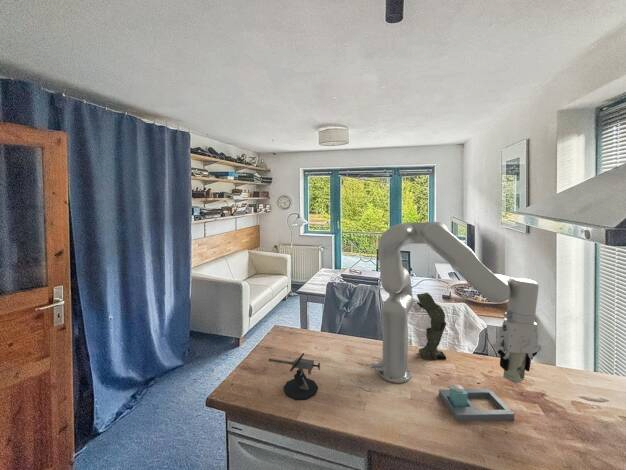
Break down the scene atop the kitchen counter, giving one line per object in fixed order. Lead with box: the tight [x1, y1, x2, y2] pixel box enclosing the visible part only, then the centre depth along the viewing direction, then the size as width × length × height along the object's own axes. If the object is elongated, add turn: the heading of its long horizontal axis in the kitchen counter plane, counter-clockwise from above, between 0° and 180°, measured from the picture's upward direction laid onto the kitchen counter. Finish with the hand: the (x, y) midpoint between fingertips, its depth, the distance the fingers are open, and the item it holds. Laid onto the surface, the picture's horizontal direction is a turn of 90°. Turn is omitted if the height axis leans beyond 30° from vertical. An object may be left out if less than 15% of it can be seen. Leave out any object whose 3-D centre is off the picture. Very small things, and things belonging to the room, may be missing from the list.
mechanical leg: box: [416, 292, 447, 361], centre depth 133 cm, size 14×7×30 cm, turn 84°
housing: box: [438, 388, 515, 422], centre depth 101 cm, size 18×13×2 cm
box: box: [502, 346, 527, 385], centre depth 100 cm, size 5×4×13 cm
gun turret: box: [268, 352, 321, 401], centre depth 111 cm, size 13×20×13 cm, turn 73°
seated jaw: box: [449, 384, 469, 407], centre depth 100 cm, size 4×4×7 cm
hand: (514, 368), depth 100 cm, fingers closed on box, 6 cm apart
